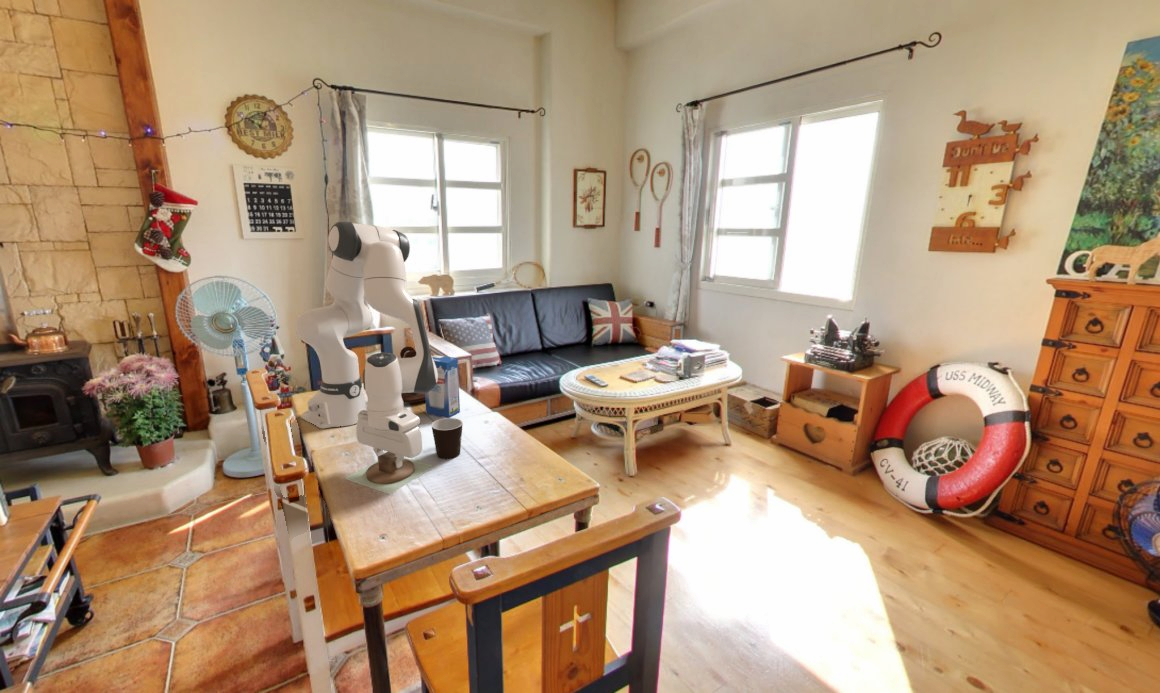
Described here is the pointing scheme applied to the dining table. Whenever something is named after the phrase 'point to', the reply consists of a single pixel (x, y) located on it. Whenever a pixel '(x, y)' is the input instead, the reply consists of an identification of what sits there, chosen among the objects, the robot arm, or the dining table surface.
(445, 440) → the coffee mug
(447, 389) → the milk carton
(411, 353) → the dark brown tall piece
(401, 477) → the lid
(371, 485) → the mat
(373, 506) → the dining table surface
